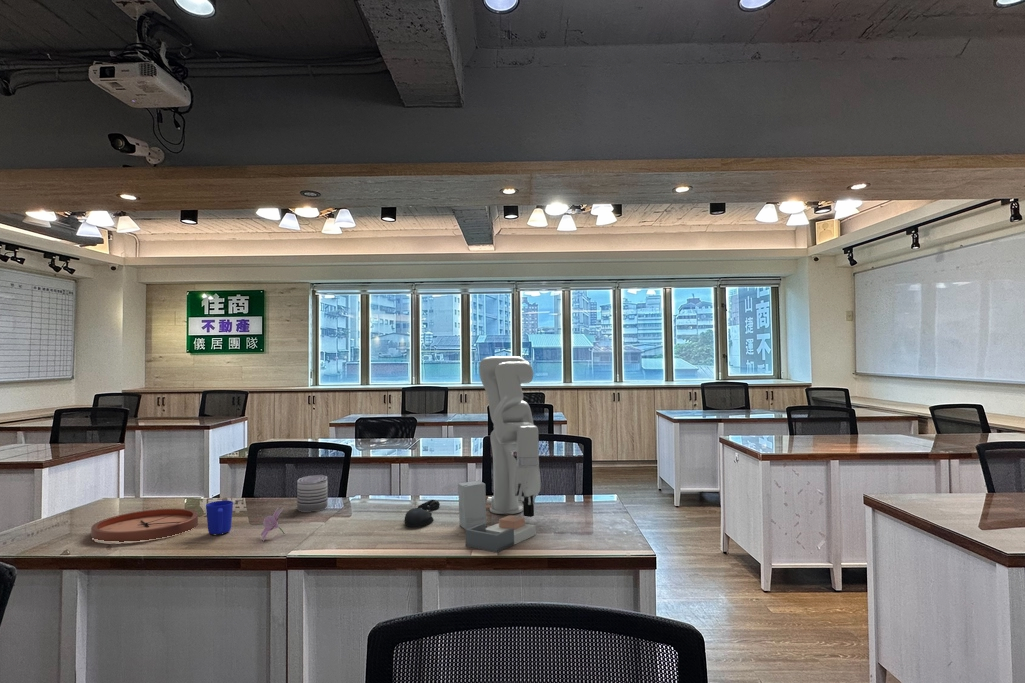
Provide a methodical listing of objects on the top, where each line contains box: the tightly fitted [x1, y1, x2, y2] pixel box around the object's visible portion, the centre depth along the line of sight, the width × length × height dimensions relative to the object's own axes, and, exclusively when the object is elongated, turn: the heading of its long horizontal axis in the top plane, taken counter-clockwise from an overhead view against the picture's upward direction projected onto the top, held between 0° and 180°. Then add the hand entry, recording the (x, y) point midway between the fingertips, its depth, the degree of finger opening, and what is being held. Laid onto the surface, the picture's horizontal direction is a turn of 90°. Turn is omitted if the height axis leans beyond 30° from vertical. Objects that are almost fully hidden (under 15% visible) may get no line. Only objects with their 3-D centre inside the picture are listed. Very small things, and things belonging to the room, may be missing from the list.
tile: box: [498, 514, 526, 530], centre depth 193 cm, size 6×6×2 cm
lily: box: [260, 506, 286, 542], centre depth 195 cm, size 12×12×10 cm
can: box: [296, 474, 329, 513], centre depth 233 cm, size 11×11×12 cm
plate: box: [486, 522, 537, 546], centre depth 192 cm, size 12×12×3 cm
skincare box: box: [457, 480, 487, 530], centre depth 205 cm, size 8×6×15 cm
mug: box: [205, 500, 234, 535], centre depth 199 cm, size 8×12×10 cm
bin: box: [464, 522, 514, 554], centre depth 183 cm, size 12×9×5 cm
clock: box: [90, 508, 199, 542], centre depth 206 cm, size 31×4×31 cm
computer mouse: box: [403, 499, 441, 529], centre depth 219 cm, size 10×32×6 cm, turn 176°
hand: (528, 515), depth 201 cm, fingers closed
